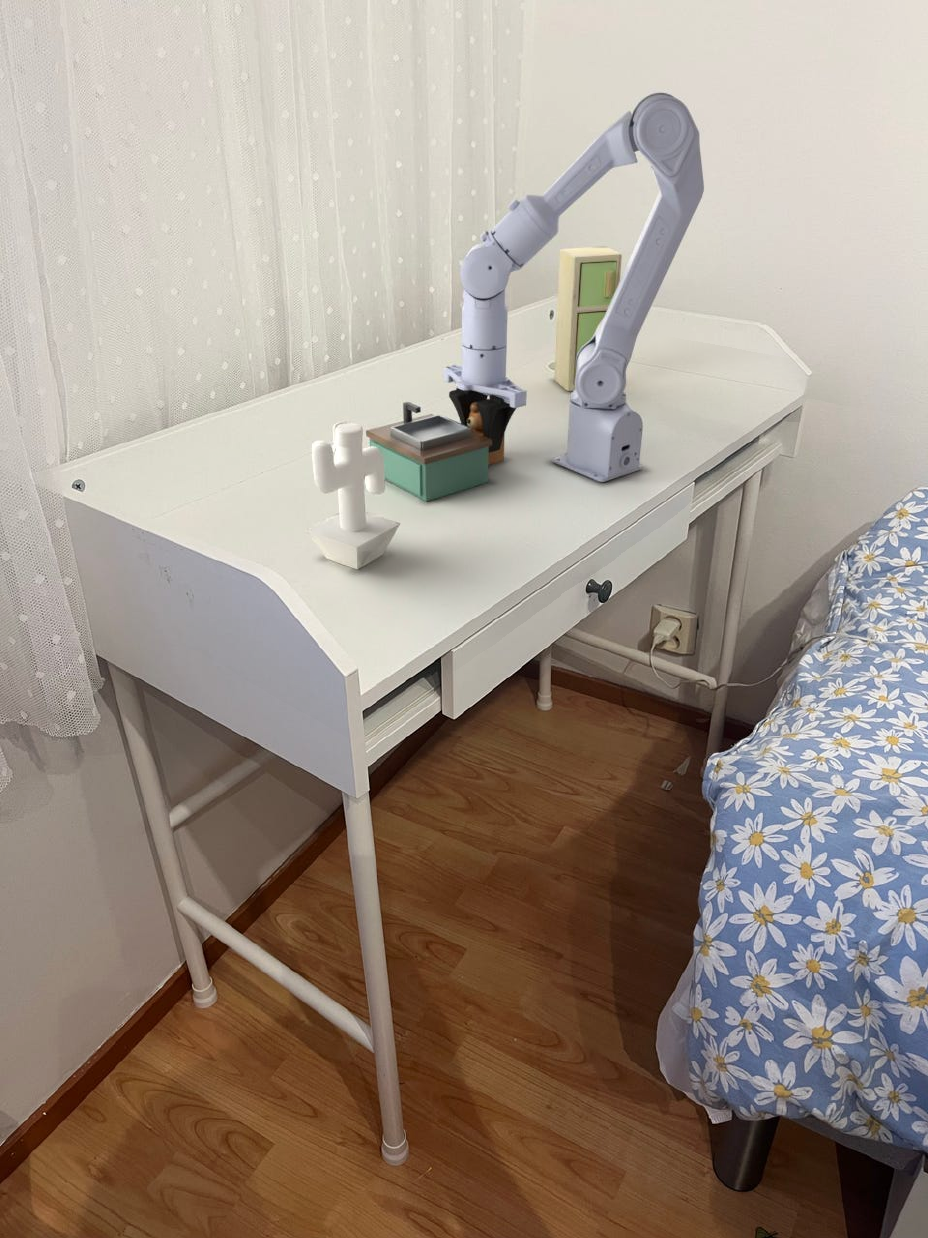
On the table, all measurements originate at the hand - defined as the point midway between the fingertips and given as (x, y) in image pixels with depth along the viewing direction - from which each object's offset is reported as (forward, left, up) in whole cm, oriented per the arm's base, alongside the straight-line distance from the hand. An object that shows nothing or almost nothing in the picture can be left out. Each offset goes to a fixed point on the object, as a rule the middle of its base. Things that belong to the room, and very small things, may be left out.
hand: (482, 445), depth 131 cm
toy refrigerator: (+15, -35, -2) cm, 38 cm away
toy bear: (0, 0, -2) cm, 2 cm away
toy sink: (-1, +9, -2) cm, 10 cm away
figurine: (-14, +29, -2) cm, 33 cm away
